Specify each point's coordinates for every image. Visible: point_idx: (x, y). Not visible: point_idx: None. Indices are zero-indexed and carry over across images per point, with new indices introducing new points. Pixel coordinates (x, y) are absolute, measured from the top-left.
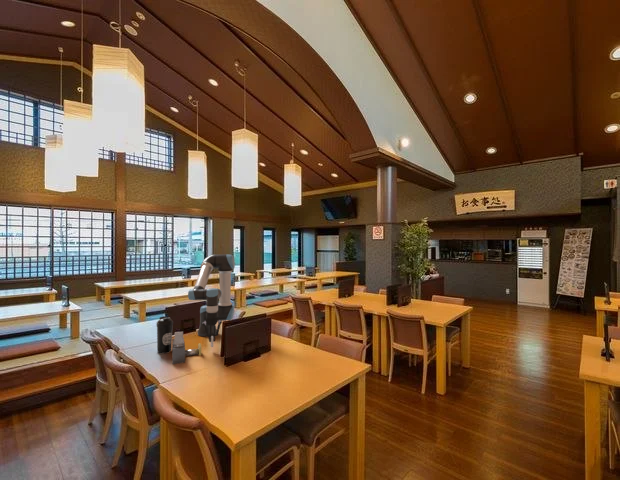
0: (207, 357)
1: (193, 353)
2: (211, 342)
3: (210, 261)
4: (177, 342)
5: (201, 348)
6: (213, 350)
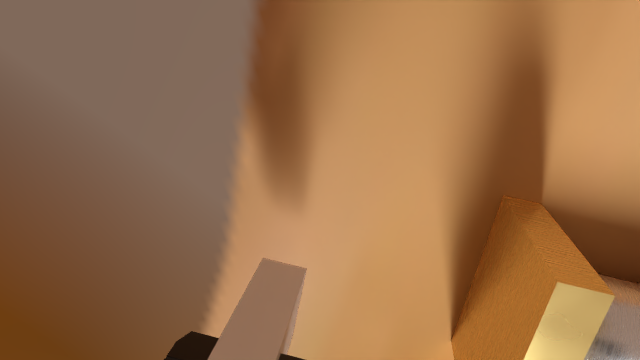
0: (457, 30)
1: (636, 284)
2: (276, 325)
3: None
4: None
5: (539, 255)
6: None
